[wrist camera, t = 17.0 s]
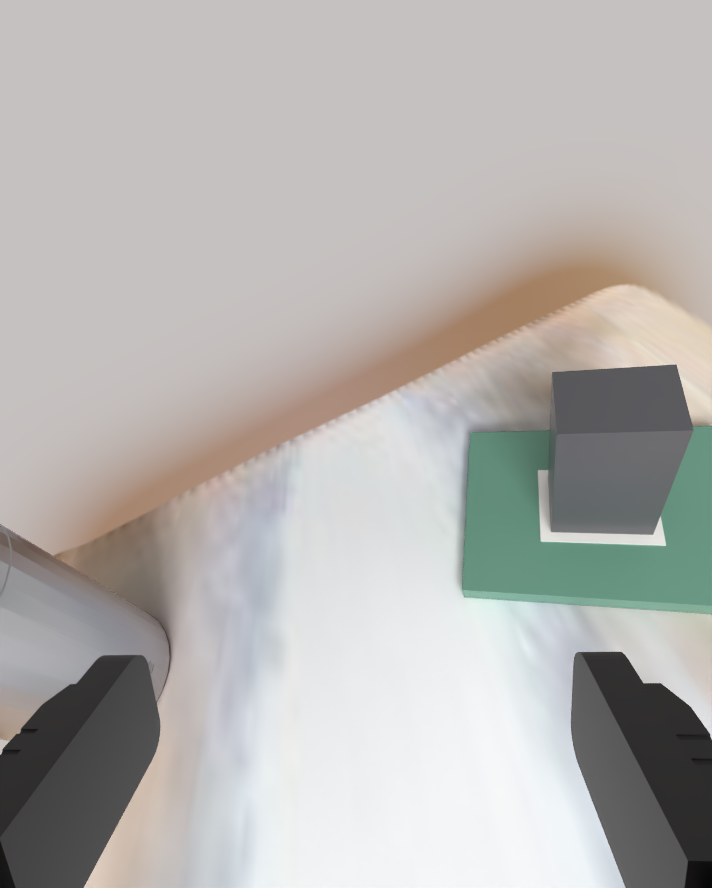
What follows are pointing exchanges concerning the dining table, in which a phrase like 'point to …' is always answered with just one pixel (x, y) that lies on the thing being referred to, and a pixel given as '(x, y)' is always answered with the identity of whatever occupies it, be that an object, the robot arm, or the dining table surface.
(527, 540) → the pin board
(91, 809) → the robot arm
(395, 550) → the dining table surface
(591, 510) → the block
